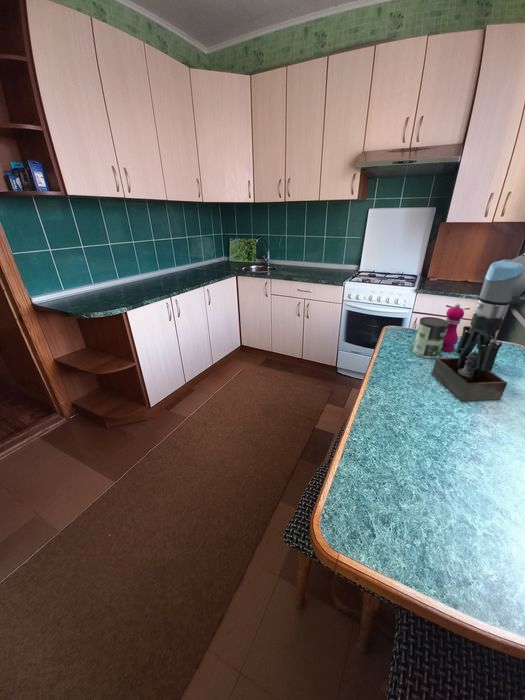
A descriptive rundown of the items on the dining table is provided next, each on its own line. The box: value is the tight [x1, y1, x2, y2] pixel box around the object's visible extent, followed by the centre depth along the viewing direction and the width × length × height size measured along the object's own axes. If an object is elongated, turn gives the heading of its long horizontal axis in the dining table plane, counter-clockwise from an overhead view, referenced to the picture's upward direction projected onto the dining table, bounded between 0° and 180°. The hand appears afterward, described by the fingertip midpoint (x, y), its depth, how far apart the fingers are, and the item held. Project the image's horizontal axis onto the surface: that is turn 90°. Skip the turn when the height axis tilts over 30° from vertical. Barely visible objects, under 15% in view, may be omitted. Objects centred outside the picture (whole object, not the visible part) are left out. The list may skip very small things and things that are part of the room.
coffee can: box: [412, 316, 449, 359], centre depth 118 cm, size 10×10×14 cm
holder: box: [431, 357, 508, 403], centre depth 98 cm, size 13×17×7 cm
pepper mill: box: [441, 303, 465, 353], centre depth 120 cm, size 7×7×20 cm
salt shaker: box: [458, 350, 478, 382], centre depth 95 cm, size 6×6×12 cm
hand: (465, 379), depth 98 cm, fingers closed on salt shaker, 6 cm apart
